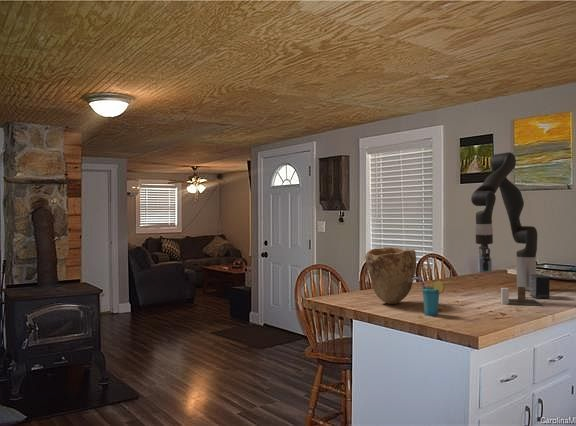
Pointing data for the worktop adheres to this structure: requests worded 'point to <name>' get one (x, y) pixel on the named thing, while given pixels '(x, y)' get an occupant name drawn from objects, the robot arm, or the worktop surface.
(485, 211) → the robot arm
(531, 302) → the dark grey square tray
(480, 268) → the blue-grey block
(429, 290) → the cup
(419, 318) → the worktop surface
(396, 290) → the bowl
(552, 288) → the worktop surface
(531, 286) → the small box
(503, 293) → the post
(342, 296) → the worktop surface
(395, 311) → the worktop surface
